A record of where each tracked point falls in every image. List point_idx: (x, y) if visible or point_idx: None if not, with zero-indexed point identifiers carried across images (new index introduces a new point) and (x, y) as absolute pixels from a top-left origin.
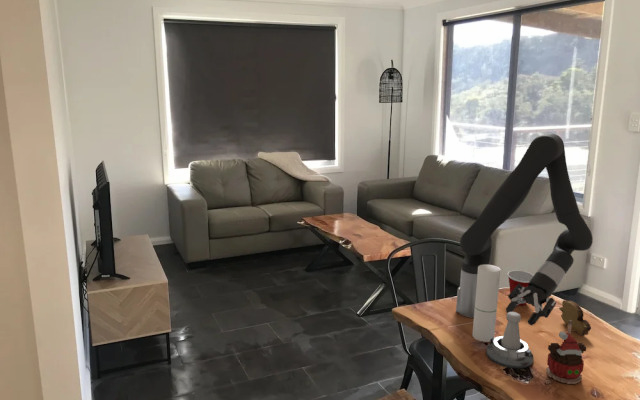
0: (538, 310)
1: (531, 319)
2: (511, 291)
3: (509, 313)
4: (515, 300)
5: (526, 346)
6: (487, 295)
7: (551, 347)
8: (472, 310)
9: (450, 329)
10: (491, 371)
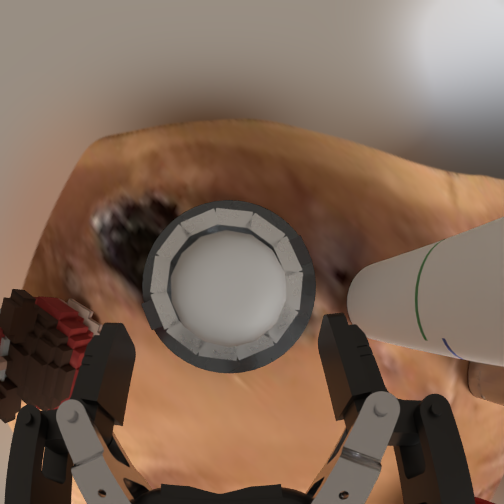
0: (63, 424)
1: (99, 347)
2: (479, 502)
3: (246, 251)
4: (356, 420)
5: (178, 332)
6: (501, 236)
7: (12, 293)
8: None
9: (444, 230)
10: (183, 163)
